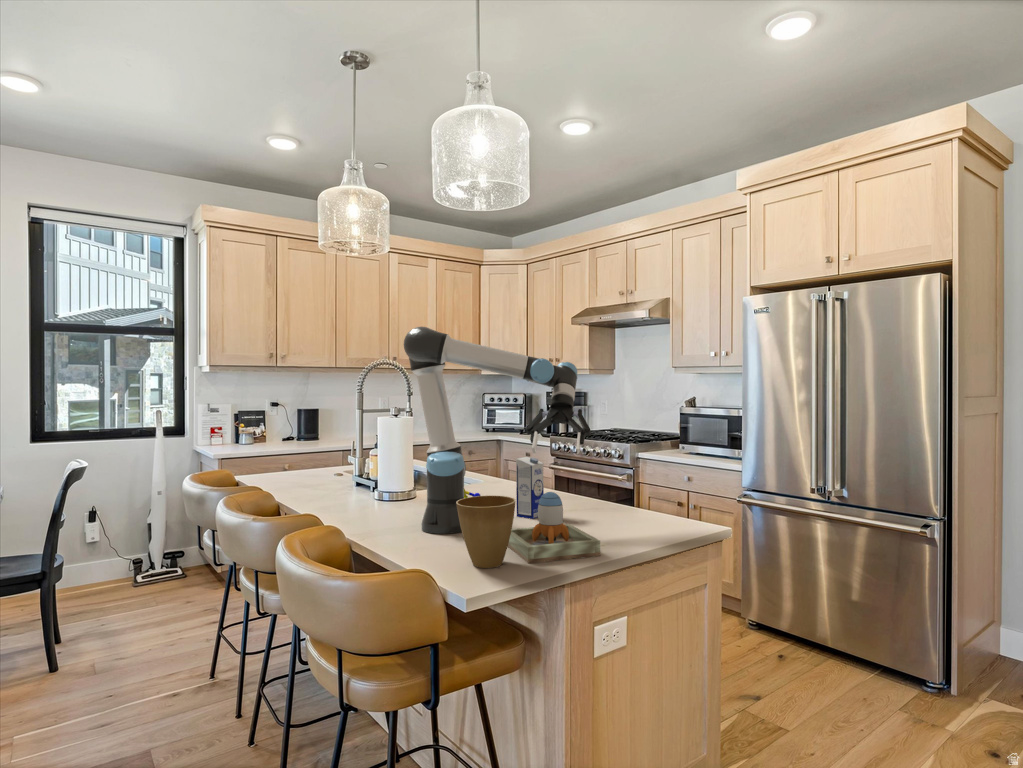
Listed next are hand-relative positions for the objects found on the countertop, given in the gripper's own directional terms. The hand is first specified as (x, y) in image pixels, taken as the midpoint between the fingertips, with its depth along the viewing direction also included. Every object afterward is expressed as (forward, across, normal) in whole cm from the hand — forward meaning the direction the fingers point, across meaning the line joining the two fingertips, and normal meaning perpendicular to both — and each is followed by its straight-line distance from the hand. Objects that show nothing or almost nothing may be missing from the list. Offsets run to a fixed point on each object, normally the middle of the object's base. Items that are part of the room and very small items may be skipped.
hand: (555, 451), depth 184 cm
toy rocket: (+31, -2, -2) cm, 31 cm away
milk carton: (+3, +12, -32) cm, 35 cm away
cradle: (+32, -2, -3) cm, 32 cm away
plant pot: (+43, +12, +8) cm, 46 cm away
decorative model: (-4, +40, -40) cm, 57 cm away
